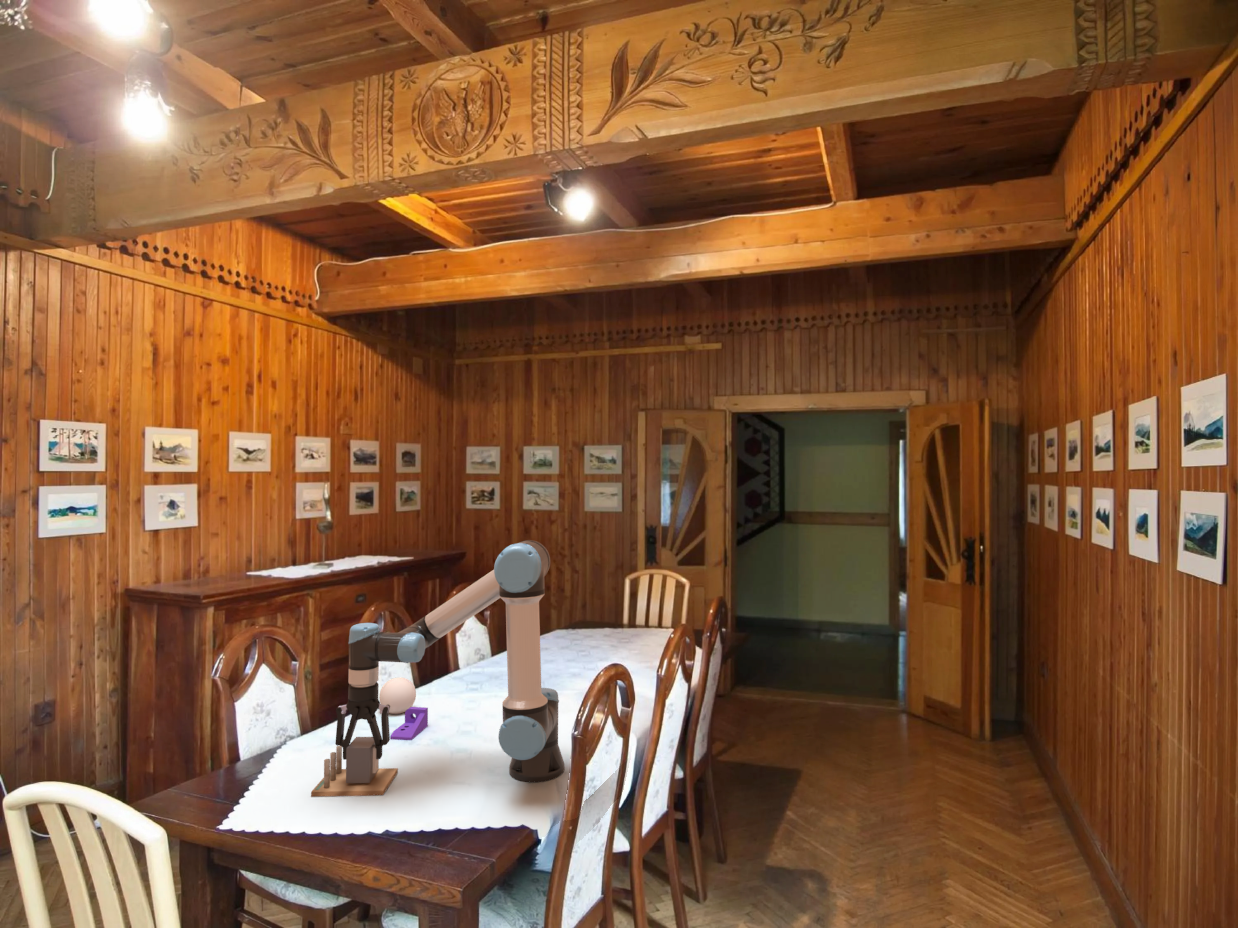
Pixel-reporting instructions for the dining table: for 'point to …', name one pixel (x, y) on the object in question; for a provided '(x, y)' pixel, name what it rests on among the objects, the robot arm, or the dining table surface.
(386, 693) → the decorative ball
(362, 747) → the block
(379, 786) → the board
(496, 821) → the dining table surface
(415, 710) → the bracket
